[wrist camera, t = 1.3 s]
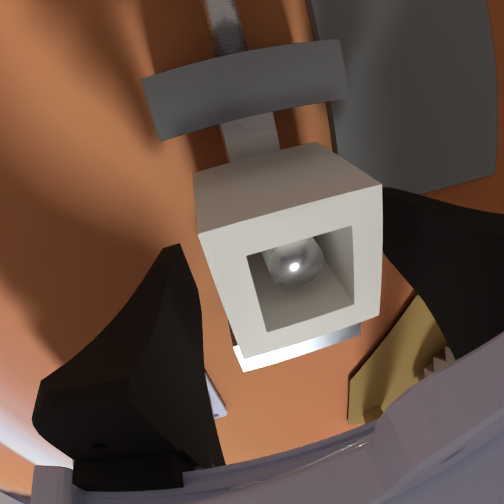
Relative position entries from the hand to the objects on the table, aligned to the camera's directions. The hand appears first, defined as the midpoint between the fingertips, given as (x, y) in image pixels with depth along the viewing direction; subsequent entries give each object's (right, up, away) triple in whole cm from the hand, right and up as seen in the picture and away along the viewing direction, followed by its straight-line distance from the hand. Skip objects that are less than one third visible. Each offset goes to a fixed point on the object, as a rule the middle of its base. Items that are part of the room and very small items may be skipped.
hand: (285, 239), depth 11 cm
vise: (-1, +4, +3) cm, 5 cm away
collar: (-1, +1, +2) cm, 3 cm away
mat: (+8, +8, +2) cm, 12 cm away
